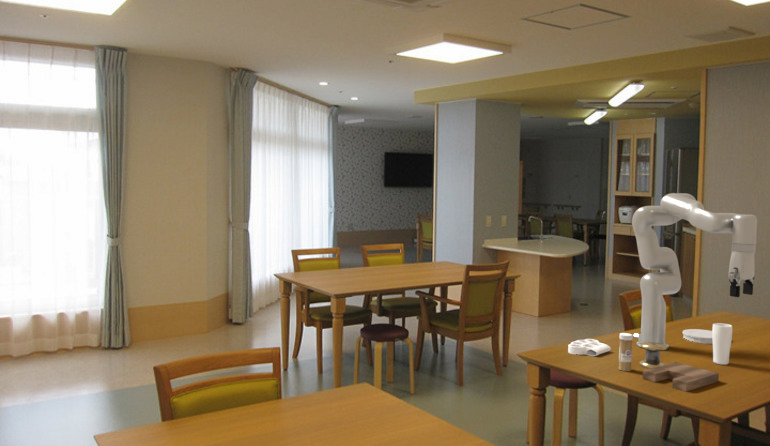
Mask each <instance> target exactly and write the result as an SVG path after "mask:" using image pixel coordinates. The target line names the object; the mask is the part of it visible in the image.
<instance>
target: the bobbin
mask: <svg viewBox="0 0 770 446" xmlns="http://www.w3.org/2000/svg"><path fill="white" fill-rule="evenodd" d="M639 348H642V349H644V350H645V359H642V360H639V366H641V367H643V368H647V369H650V368H654V367H658V366H662V365H666V363H665V362H663V361H661V351H665V350H667V349H666V345H664V344H661V343H656V342H642V343H640V347H639Z"/></svg>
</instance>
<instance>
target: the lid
mask: <svg viewBox="0 0 770 446" xmlns="http://www.w3.org/2000/svg"><path fill="white" fill-rule="evenodd" d="M682 335H683V337H682V338H683V339H684V338H685V339H684V340H686V339H687V340H686V341H688V340H689V342H692V341H693V342H692V343H697V342H698V344H705V345H706V344H707V345H713V342H712V330H708V329H699V328H697V329H696V328H689V329H683V330H682Z"/></svg>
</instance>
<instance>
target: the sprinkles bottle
mask: <svg viewBox="0 0 770 446" xmlns="http://www.w3.org/2000/svg"><path fill="white" fill-rule="evenodd" d="M633 336H634V334H631V333H629V332H628V333H627V332H620V333H619V336H618V337H619V348H618V349H619V350H618V370H619V371H621V372H631V371H632V358H633V357H632V356H633V353H632V352H633V339H634V337H633Z"/></svg>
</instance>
